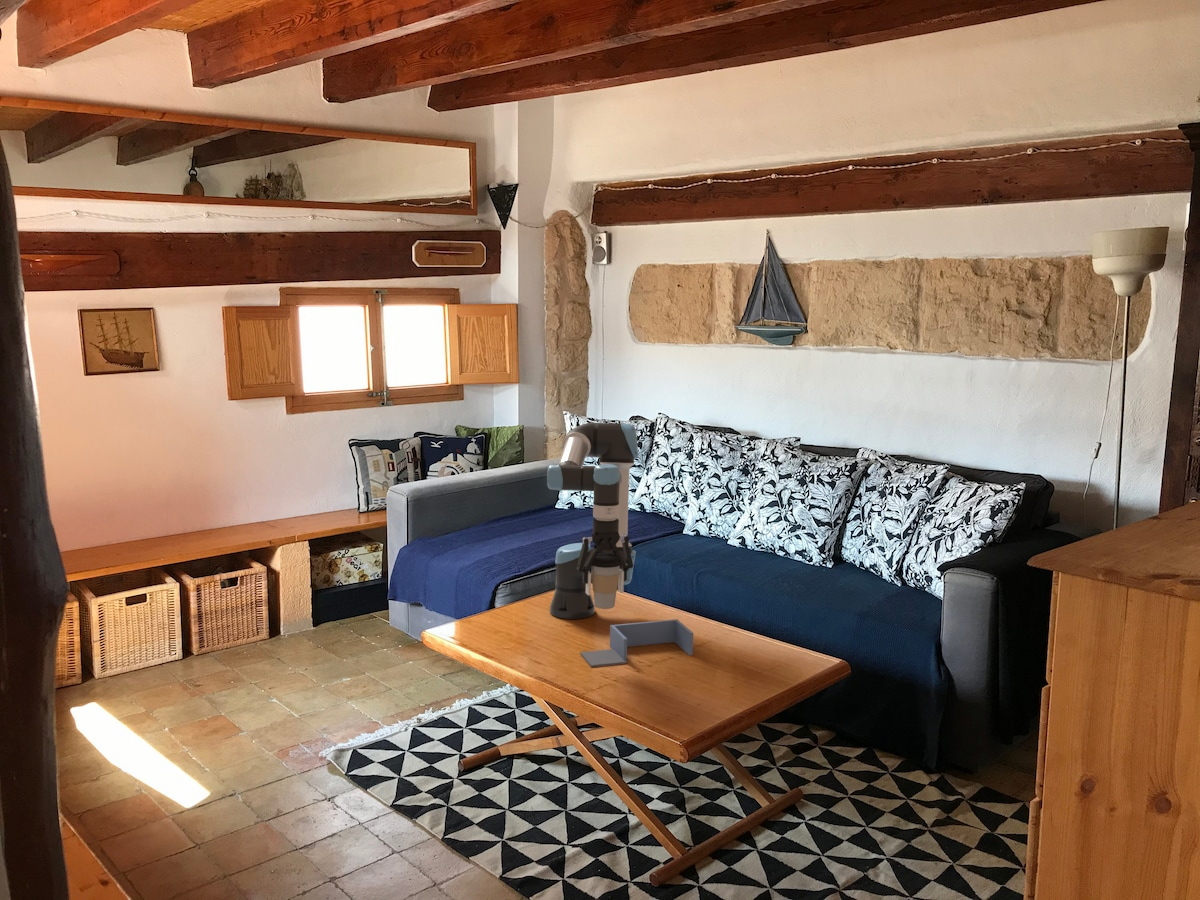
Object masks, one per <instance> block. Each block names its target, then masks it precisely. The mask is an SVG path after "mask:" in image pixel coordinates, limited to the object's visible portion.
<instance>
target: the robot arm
mask: <svg viewBox="0 0 1200 900" xmlns="http://www.w3.org/2000/svg"><path fill="white" fill-rule="evenodd" d="M638 447H639V446H638V437H637V430H636V427H635V426H634V425H633V424H631V423H623V422H620V423H617V422H614V423H613V422H611V423H610V422H586V423H582V424H581V425H578V426H576V427H573V428H572V429H571V430H569V432H567V434H565V435H564V437H563V440H562V443H561V449H562V452H561V455H560V457H559V460H558V463H557V464H551V465H548V467H547V473H546V486H547V488H548V489H549V490H554V491H573V492H574V491H575V492H576V491H580V492H581V491H583V492H593V506H592V507H593V508H592V515H593V516H592V517H593V519H592V534H591V536H588V537H585V536H582V538H581V542H577V543H576V542H575V543H568V544H566V545H563V546H560V547H559V548H557V550H556V554H555V561H554V564H555V590H554V594H553V596H552V599H551V602H550V605H549V613H550V614H551V615H552V616H554V617H555V618H558V619H559V618H560V619H565V620H581V619H587V618H590V617H591V616H593V615H595V608H596V607H595V605H594V598H593V597H592V575H591V572H592V569H591V566H592V562H594V558H596V557H597V555H598V554H600V553H609V554H614V555H615V556H617V557H619V561H621V565H620V567H619V579H618V587H617V591H618V592H619V593H621V594H624V590H625V589H624V587H625V586H626V585H629V584H630V583H631V582H632V577H633V574H634V573H633V571H634V566H635V559H636V552H637V551H636V550H634V549H632V546H633V545H632V543H631V542H630V537H629V536H628V529H629V527H628V526H629V524H628V523H629V492H630V490H629V489H630V486H629V485H630V468H631V467H633V465H634V464H635V460H636V459H639V448H638ZM586 458H599V464H598V465H584V463H585V459H586ZM591 542H592V543H593V546H592V547H591Z"/></svg>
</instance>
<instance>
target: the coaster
mask: <svg viewBox="0 0 1200 900" xmlns="http://www.w3.org/2000/svg"><path fill="white" fill-rule="evenodd" d="M579 654H580V656H581V657H582V658H583V659H584V661H585V662H586V663H587V665H588V666H589V667H590V668H596V667H598V668H599V667H607V666H617V665H628V660H627V661H626V660H623V659H622V658H621V657H620V656H619V655H618V653H617V652H616V651H615V650H614V649H611V648H610V649H599V650H590V651H582V652H581V651H580V653H579Z"/></svg>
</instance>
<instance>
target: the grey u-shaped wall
mask: <svg viewBox="0 0 1200 900" xmlns="http://www.w3.org/2000/svg"><path fill="white" fill-rule="evenodd" d="M609 628H610V629H609V648H610V649H614V650H615V651H616V652H617V653H618V655H619V656H620V657H621V658H622V659H623V660H626V661H627V662H628V647H637V646H647V645H658V644H669V643H675V644H676V645H677V646H678V647H680V648H681V650H683V651H684V652H685V653H686V654H687V655H688V656H693V655H694V632H693V631H692V630H690V629H689V628H688V627H687V626H686V625H685V624H684V623H682V622H681V621H680V620H679V619H678V618H677V619H666V620H653V621H642V622H631V623H630V622H629V623H620V624H610V625H609Z"/></svg>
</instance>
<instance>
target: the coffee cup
mask: <svg viewBox="0 0 1200 900" xmlns="http://www.w3.org/2000/svg"><path fill="white" fill-rule="evenodd" d="M620 565H621V561H619V557H617V556H615V555H614V554H609V553H600V554H598V555H597V557H596V558H594V562H592V566H591V569H592V572H591V575H592V584H591V588H592V592H593V603H594V606H595V608H597V609H601V610H610V609H613V608H614V607H615V606H616V605H615V604H616V599H617V591H618V579H619V567H620Z"/></svg>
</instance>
